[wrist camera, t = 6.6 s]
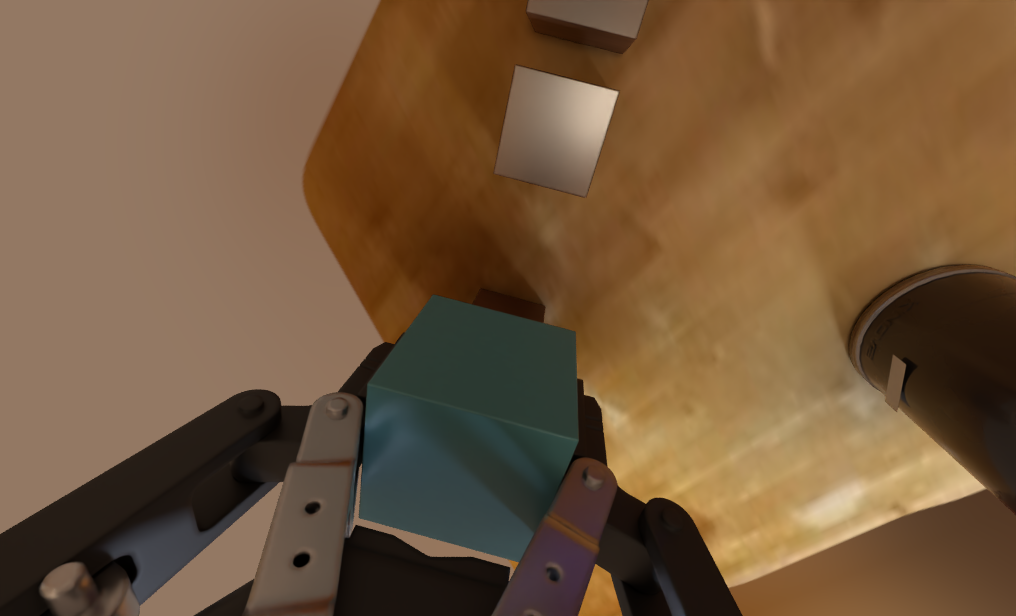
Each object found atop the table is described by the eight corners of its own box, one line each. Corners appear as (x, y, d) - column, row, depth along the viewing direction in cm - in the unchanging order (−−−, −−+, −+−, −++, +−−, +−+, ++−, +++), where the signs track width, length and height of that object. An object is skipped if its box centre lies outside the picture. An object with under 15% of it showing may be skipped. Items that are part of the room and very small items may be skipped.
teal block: (576, 330, 13) (579, 441, 9) (538, 436, 16) (527, 565, 11) (433, 293, 13) (366, 383, 9) (417, 404, 16) (357, 518, 11)
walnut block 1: (545, 305, 29) (541, 340, 25) (529, 360, 31) (522, 400, 27) (480, 288, 29) (463, 319, 25) (468, 343, 32) (451, 381, 27)
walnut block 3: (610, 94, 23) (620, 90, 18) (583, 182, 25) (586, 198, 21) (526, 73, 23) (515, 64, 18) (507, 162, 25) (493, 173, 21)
